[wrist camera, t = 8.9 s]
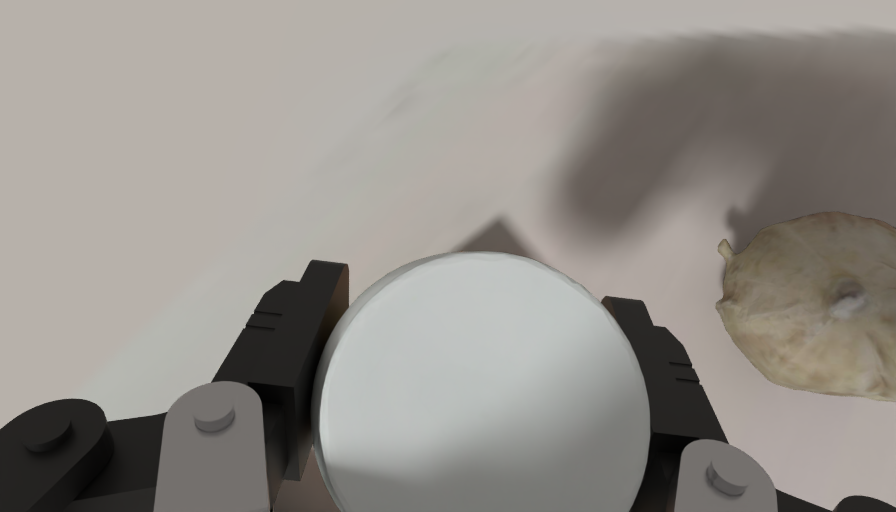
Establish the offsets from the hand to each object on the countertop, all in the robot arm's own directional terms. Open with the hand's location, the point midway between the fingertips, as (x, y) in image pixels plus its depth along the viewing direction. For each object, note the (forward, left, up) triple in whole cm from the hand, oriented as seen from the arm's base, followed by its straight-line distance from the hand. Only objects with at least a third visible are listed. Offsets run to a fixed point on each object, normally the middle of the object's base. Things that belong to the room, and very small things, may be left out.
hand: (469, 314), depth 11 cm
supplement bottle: (0, +2, -5) cm, 5 cm away
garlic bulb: (-16, -3, -16) cm, 23 cm away
